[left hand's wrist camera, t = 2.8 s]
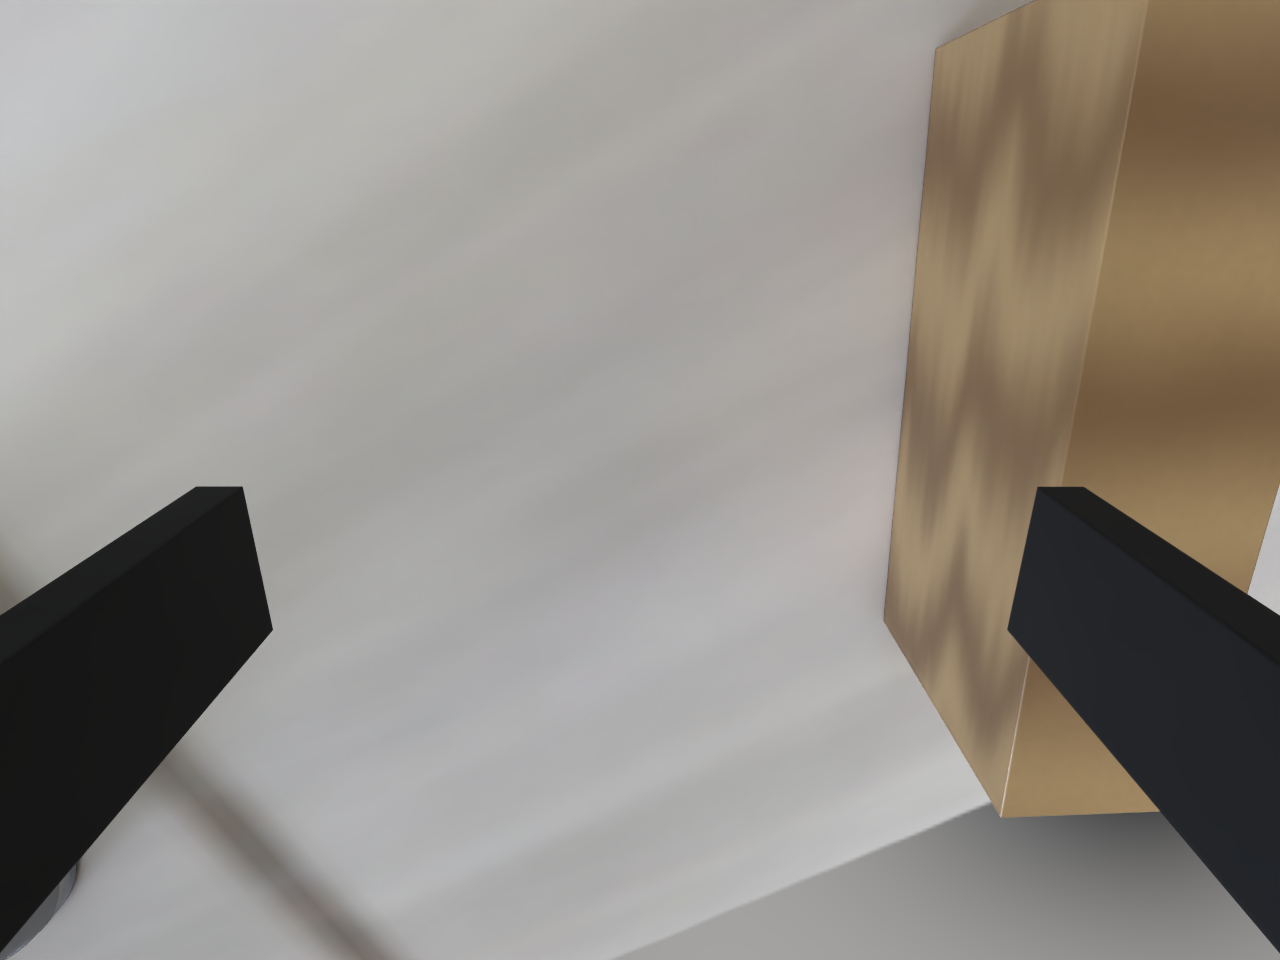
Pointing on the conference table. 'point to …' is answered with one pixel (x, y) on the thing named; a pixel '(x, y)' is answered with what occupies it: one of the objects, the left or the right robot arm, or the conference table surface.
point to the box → (1083, 343)
